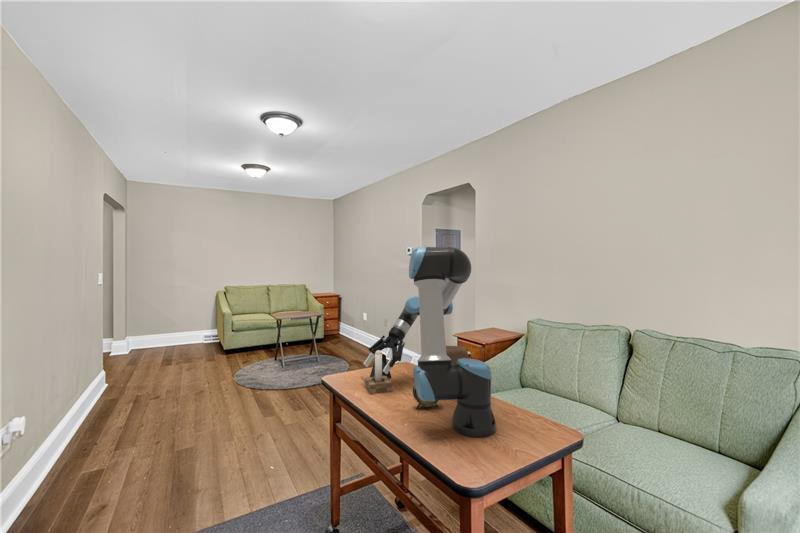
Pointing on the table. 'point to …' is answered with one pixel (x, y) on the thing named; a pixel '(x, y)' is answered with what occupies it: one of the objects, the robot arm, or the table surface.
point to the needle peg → (378, 366)
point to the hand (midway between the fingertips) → (374, 369)
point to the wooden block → (456, 353)
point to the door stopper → (382, 368)
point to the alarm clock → (421, 402)
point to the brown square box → (378, 385)
